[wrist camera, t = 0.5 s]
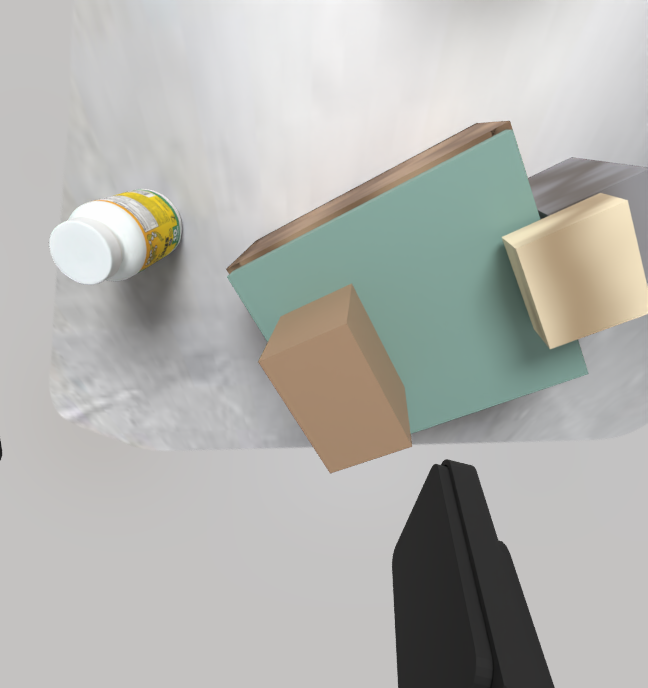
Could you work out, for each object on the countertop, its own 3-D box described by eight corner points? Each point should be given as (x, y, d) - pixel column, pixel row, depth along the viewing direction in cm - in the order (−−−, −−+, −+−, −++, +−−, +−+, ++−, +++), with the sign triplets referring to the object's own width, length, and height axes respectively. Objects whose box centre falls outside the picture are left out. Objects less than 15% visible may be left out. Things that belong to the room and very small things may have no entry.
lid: (505, 129, 22) (559, 129, 16) (580, 364, 28) (642, 434, 21) (232, 271, 27) (190, 314, 21) (340, 447, 33) (333, 524, 26)
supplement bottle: (148, 173, 33) (70, 188, 25) (198, 229, 35) (141, 261, 26) (106, 217, 35) (20, 246, 26) (155, 268, 37) (89, 310, 28)
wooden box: (551, 83, 28) (630, 62, 20) (608, 293, 34) (687, 348, 25) (256, 240, 35) (218, 276, 26) (344, 394, 40) (337, 464, 32)
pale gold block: (600, 192, 22) (627, 200, 19) (626, 294, 24) (653, 312, 22) (501, 237, 23) (515, 249, 21) (533, 329, 25) (550, 349, 23)
